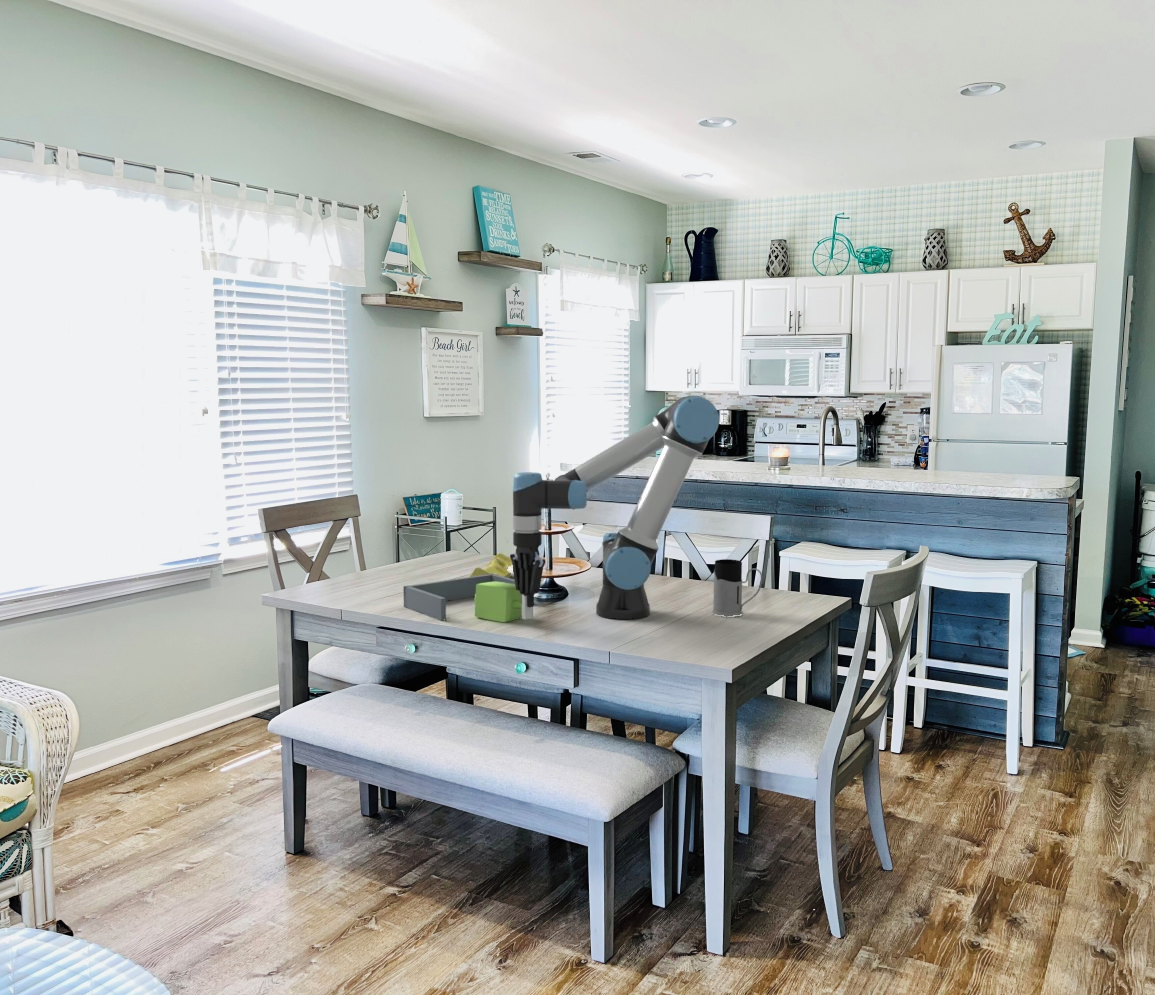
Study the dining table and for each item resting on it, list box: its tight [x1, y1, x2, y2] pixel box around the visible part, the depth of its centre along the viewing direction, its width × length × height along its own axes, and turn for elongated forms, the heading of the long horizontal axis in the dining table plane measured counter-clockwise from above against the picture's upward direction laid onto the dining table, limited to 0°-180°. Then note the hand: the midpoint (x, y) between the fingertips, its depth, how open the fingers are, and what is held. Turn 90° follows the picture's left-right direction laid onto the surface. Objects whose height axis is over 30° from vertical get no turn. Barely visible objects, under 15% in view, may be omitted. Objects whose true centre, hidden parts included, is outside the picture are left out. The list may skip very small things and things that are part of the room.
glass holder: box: [711, 558, 763, 616], centre depth 263 cm, size 9×14×15 cm, turn 62°
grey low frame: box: [402, 574, 515, 621], centre depth 274 cm, size 21×31×6 cm
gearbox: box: [474, 581, 522, 623], centre depth 260 cm, size 18×10×10 cm, turn 57°
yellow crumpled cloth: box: [469, 552, 512, 578], centre depth 312 cm, size 20×7×10 cm
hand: (527, 618), depth 251 cm, fingers closed
